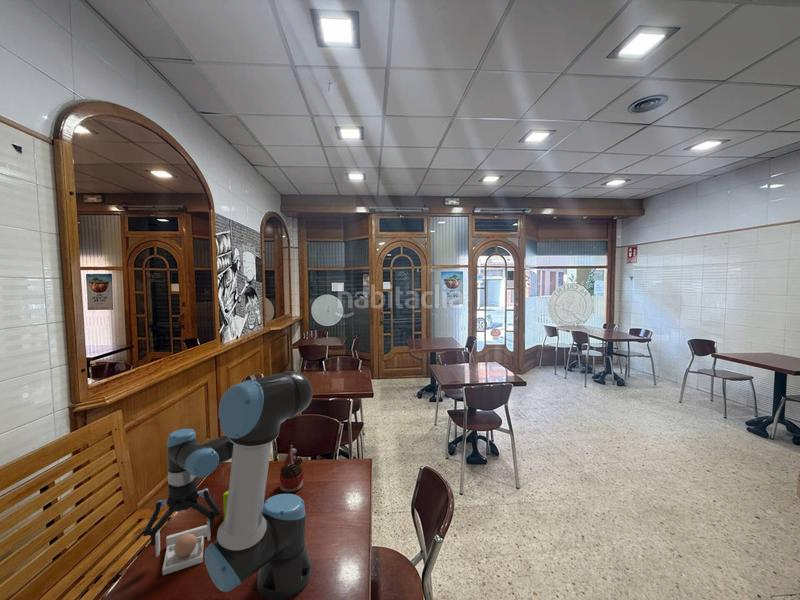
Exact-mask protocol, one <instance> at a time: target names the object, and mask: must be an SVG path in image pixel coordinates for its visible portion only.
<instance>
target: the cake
mask: <svg viewBox="0 0 800 600" xmlns="http://www.w3.org/2000/svg"><path fill="white" fill-rule="evenodd" d="M293 447H294V446H293V445H292V444H290V448H289V449H290V450H289V451H288V454H287V456H286V458H285V459H284V462H283V465H282V467H281V468H280V474H279V483H280V486H279V489H280V490H281V491H282V492H288V493H289V492H295V491H298V490H300V489H301V488H303V486H304V480H303V479H304V470H303V468H302V466H301V465H302V462H303V458H301V457H300V456H298V457H296V458H295V457H294V455H295V454H296V453H297V449H296V448H293Z"/></svg>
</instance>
